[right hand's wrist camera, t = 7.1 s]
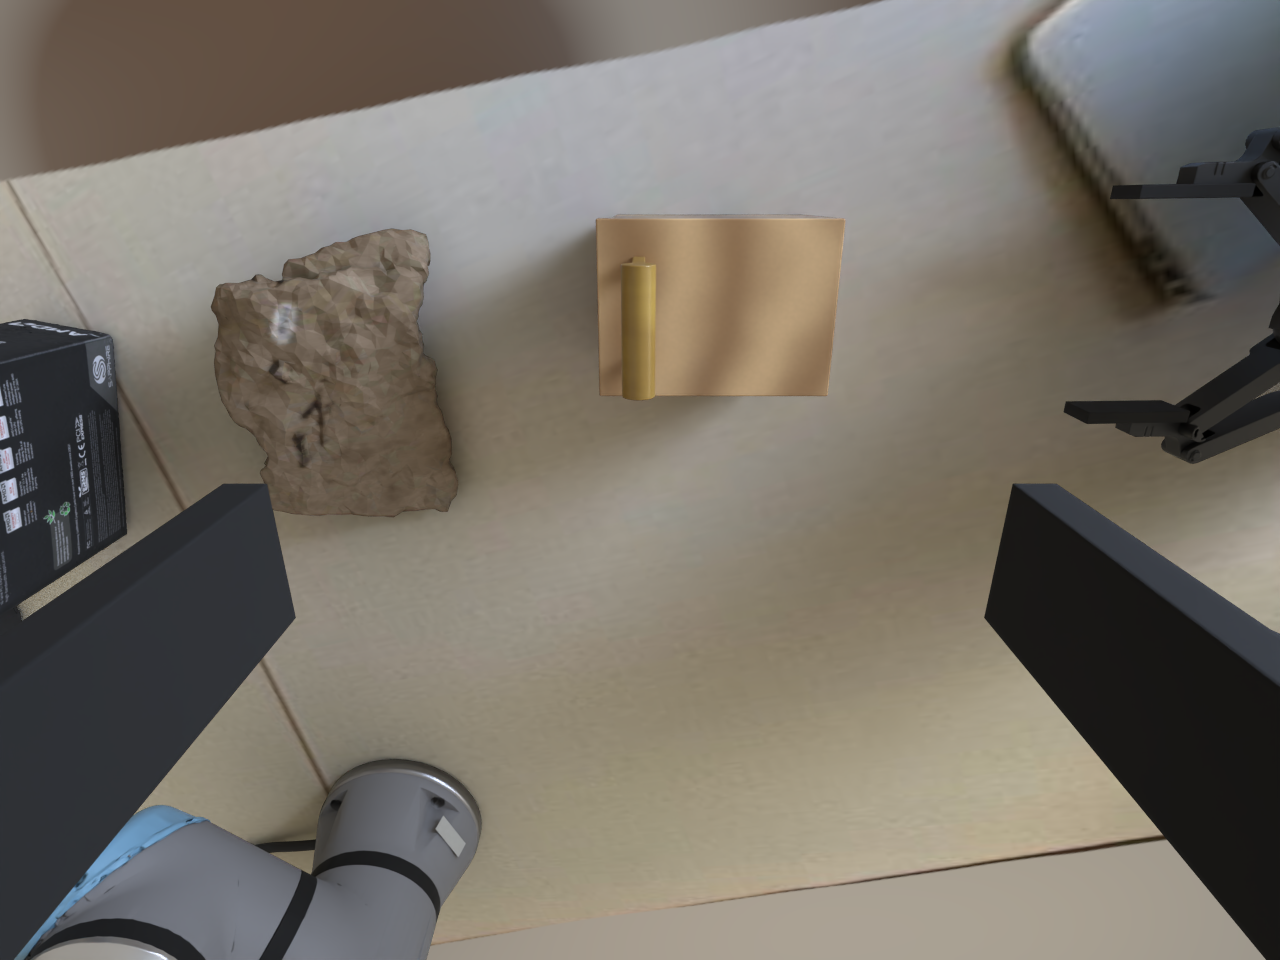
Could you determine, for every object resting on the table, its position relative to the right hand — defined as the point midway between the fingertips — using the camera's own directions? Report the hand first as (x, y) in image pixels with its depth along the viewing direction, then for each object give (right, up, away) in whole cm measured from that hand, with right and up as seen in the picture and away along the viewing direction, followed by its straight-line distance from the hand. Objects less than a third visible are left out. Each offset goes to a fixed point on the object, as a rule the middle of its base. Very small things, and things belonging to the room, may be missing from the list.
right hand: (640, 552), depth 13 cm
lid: (+4, +11, +28) cm, 31 cm away
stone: (-21, +9, +40) cm, 46 cm away
